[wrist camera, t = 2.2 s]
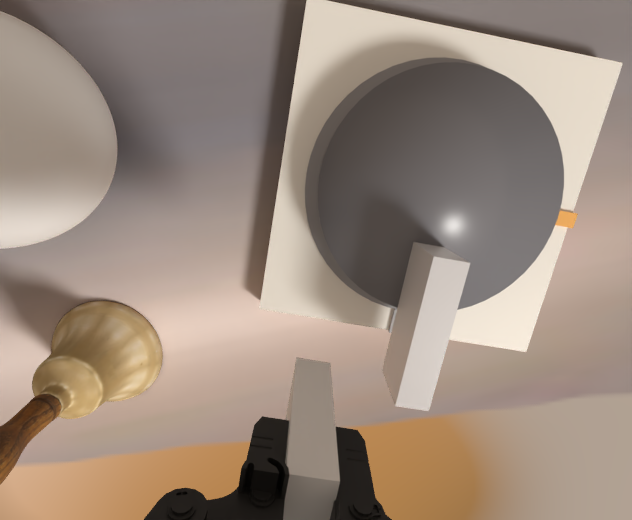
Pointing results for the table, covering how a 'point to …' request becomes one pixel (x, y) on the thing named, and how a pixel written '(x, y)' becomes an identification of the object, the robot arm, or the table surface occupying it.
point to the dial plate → (343, 94)
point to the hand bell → (85, 371)
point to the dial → (438, 203)
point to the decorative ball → (48, 137)
